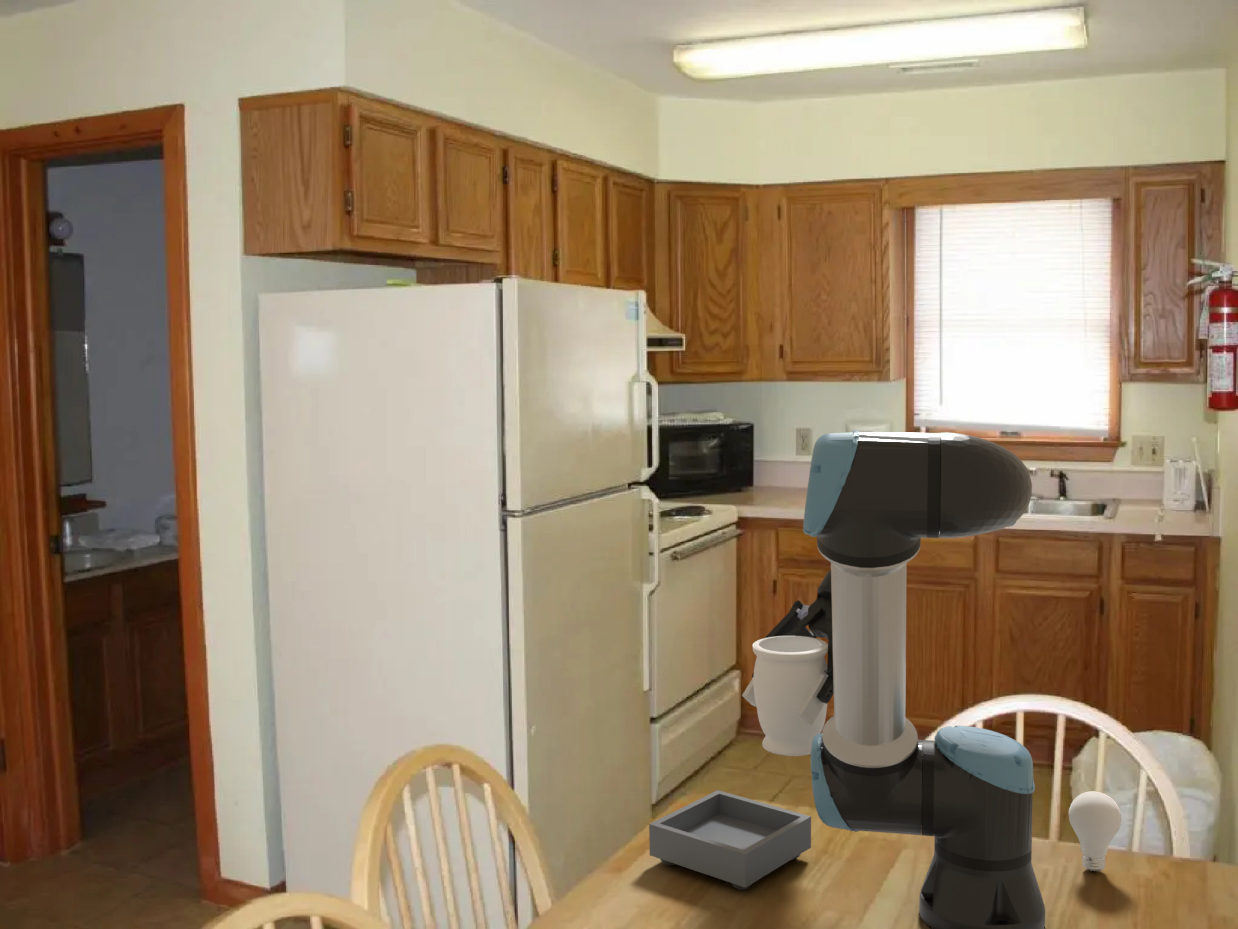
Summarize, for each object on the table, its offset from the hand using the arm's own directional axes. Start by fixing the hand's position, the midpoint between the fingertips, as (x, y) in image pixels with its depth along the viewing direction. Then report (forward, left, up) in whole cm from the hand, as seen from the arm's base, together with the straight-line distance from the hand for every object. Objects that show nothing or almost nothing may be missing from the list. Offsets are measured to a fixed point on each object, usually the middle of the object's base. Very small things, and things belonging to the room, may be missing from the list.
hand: (776, 710), depth 176 cm
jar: (-1, -3, -6) cm, 7 cm away
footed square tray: (+3, +7, -21) cm, 22 cm away
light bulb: (-37, -21, -21) cm, 47 cm away
